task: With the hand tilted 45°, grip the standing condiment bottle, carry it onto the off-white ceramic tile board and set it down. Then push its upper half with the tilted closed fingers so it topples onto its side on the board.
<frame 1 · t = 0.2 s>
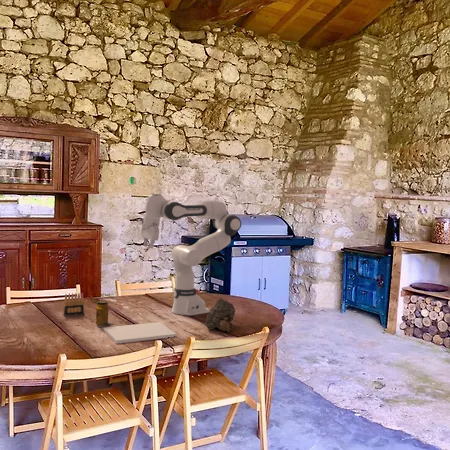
hand: (148, 247, 269), 39 cm above the table, tool pointing down, fingers open, 8 cm apart
tile board: (139, 333, 238), on the table
rock: (221, 329, 252), on the table
ammunition clip: (73, 314, 268), on the table
condiment: (103, 324, 251), on the table
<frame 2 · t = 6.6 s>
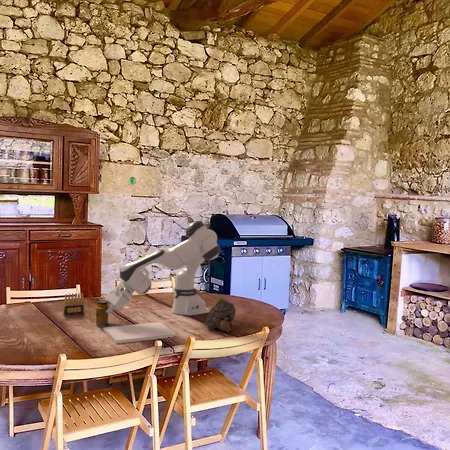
hand: (104, 310, 251), 7 cm above the table, tool tilted 45°, fingers closed on condiment, 6 cm apart
condiment: (103, 324, 251), on the table, touching gripper
everything else where it was.
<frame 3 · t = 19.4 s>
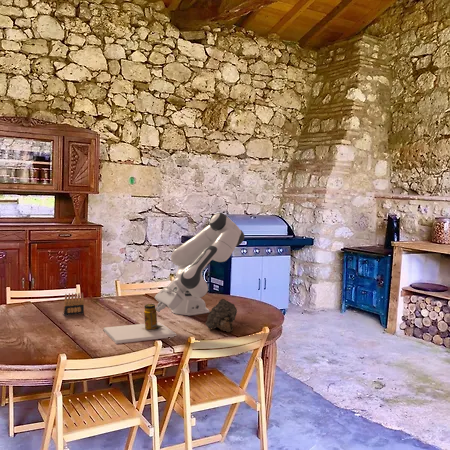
hand: (156, 310, 242), 11 cm above the table, tool tilted 45°, fingers closed, pressing on condiment
condiment: (152, 328, 242), point 2 cm above the table, touching gripper, tile board
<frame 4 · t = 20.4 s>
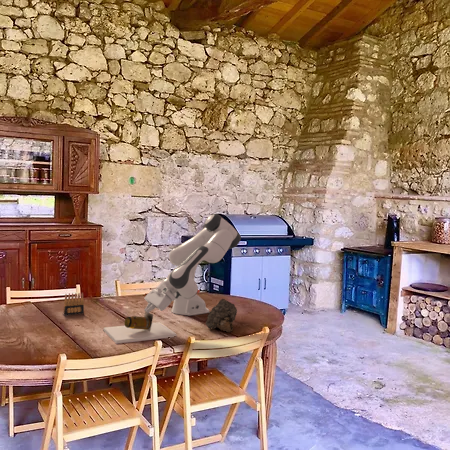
hand: (146, 311, 239), 11 cm above the table, tool tilted 45°, fingers closed
condiment: (148, 321, 239), point 6 cm above the table, touching gripper, tile board
everything else where it was.
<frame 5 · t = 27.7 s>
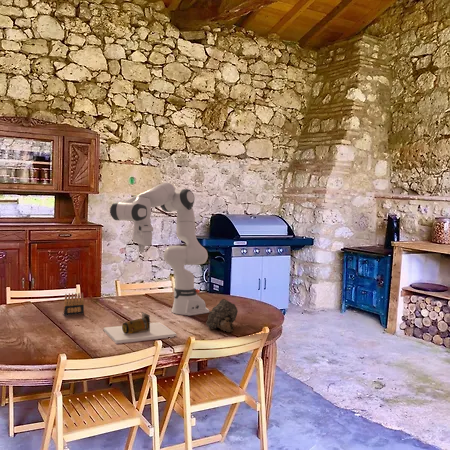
hand: (141, 252, 260), 37 cm above the table, tool pointing down, fingers closed
condiment: (146, 321, 239), point 6 cm above the table, touching tile board
at the end: condiment tilted 93°; condiment inside the target area on the tile board (3.3 cm from its centre), point 5.8 cm above the tile board's base; the gripper is holding nothing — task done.
